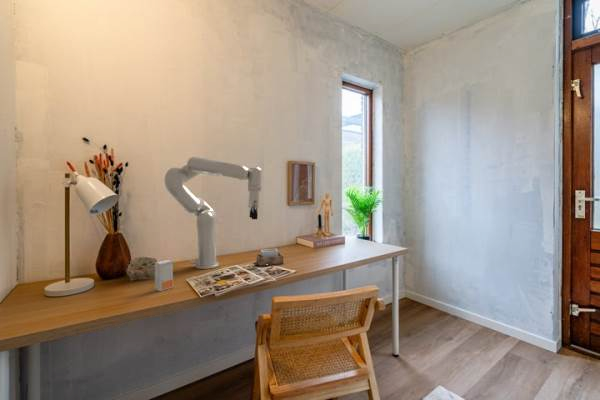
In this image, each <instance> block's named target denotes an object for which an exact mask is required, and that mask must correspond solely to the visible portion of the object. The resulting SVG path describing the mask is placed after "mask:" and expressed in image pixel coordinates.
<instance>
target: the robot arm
mask: <svg viewBox="0 0 600 400" xmlns="http://www.w3.org/2000/svg"><path fill="white" fill-rule="evenodd" d="M262 173H263V171H262V169H261V168H260V167H246V166H244V165H241V164H237V163H236V164H235V163H229V162H223V161H220V160H213V159H209V158H205V157H199V156H193V157H190V158H188V160H187V163H186V164H185V165H184V166H182V167H170V168H169V169H168V170H167V172H166V173H165V176H164V185H165V188H166V189H167V191H168V192H169V194H170V195H171V196H172V197H173V198H174V199H175V200H176V201H177V202H178V203H179V205H181V206H182V207H183V209H184V210H185V211H186V212H187V213H188V214H194V215H195V217H196V229H197V253H198V254H197V255H198V256H197V259H190V261H189V264H190V265H191V264H192V265H195V268H196V269H199V270H208V269H213V268H217V267H218V266H220V262H218V261H217V244H216V240H217V239H216V222H217V221H218V215H217V213H216V212H215V211H214V209H213V208H212V207H211V206H210V205H209V204H208V203H207V202H206V201H205V200H204V198H201V197H200V196H198V195H197V196H196V195H194V193H192V192H191V191H190V189H188V187H186V186H185V185H184V183H187V182H189V181H190V180H191V179H194V178H195V177H197V176H199V175H200V174H203V175H208V176H213V177H214V176H215V177H226V178H233V179H236V180H237V179H238V180H240V181H244V180H247V192H249V193H248V204H247V207H248V208H249V218H251V220H258V209H259V205H260V204H259V201H260V193H261V192H262Z"/></svg>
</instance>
